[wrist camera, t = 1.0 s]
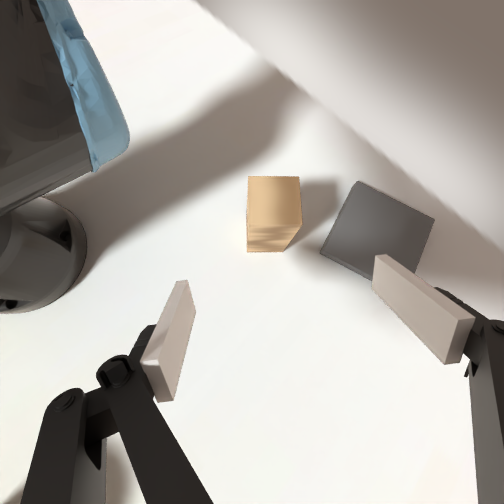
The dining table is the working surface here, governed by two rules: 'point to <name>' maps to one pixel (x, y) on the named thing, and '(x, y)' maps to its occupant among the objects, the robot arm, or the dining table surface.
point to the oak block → (272, 212)
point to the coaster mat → (376, 232)
